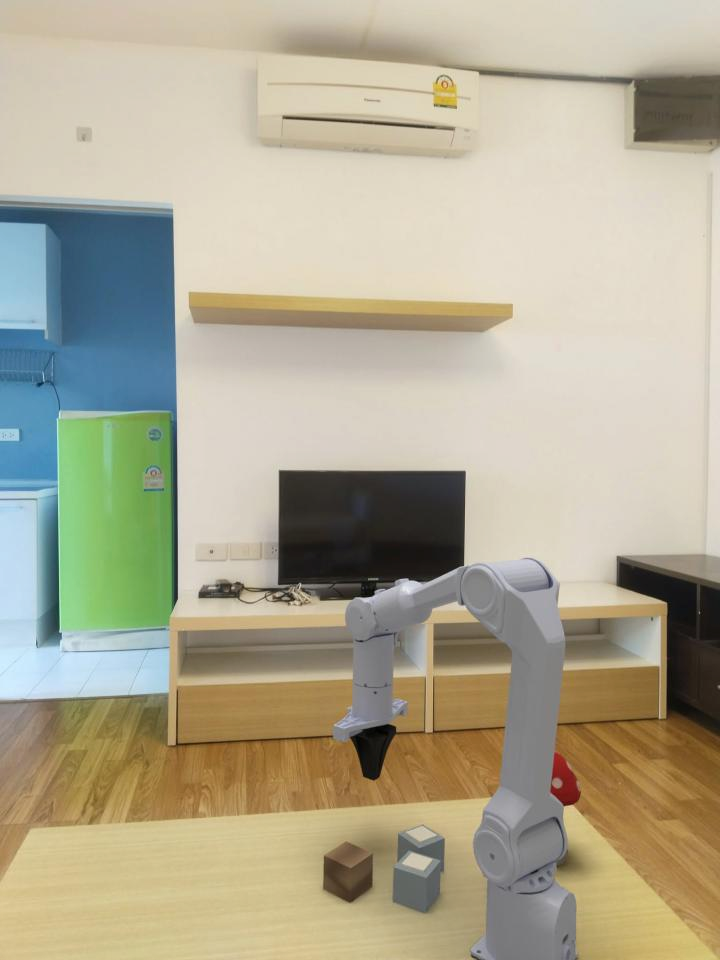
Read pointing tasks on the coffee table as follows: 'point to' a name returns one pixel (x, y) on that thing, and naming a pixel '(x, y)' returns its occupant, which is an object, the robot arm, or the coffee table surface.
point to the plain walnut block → (348, 871)
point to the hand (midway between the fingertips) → (371, 777)
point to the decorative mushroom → (564, 786)
